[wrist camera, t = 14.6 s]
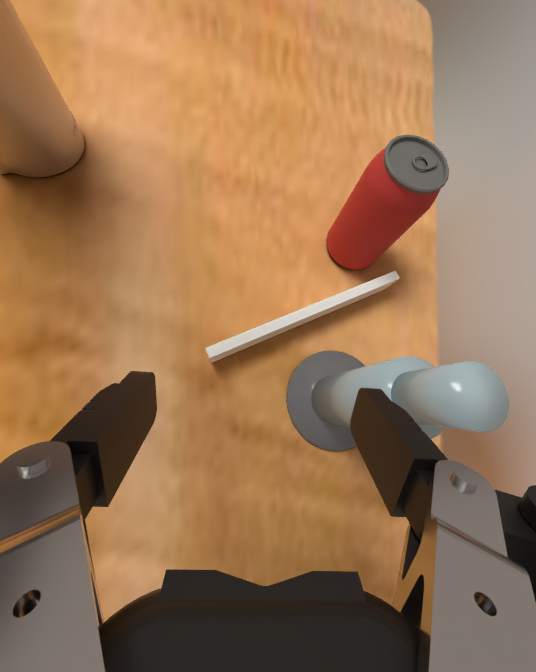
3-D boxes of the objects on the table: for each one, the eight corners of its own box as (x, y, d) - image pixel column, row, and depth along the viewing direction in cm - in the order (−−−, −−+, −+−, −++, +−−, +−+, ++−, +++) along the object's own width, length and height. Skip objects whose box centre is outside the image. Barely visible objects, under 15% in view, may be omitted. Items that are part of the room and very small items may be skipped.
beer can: (381, 268, 32) (467, 193, 20) (332, 275, 31) (394, 199, 19) (366, 222, 33) (439, 128, 22) (318, 226, 32) (369, 129, 21)
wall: (211, 362, 26) (209, 358, 23) (207, 353, 26) (205, 348, 23) (384, 289, 31) (400, 278, 28) (380, 282, 31) (395, 270, 29)
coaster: (313, 469, 25) (315, 470, 25) (270, 374, 27) (271, 373, 26) (394, 422, 27) (397, 422, 27) (350, 337, 29) (351, 336, 29)
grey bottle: (324, 432, 26) (469, 477, 10) (303, 387, 26) (408, 367, 11) (363, 410, 27) (546, 422, 11) (342, 368, 28) (486, 326, 12)
